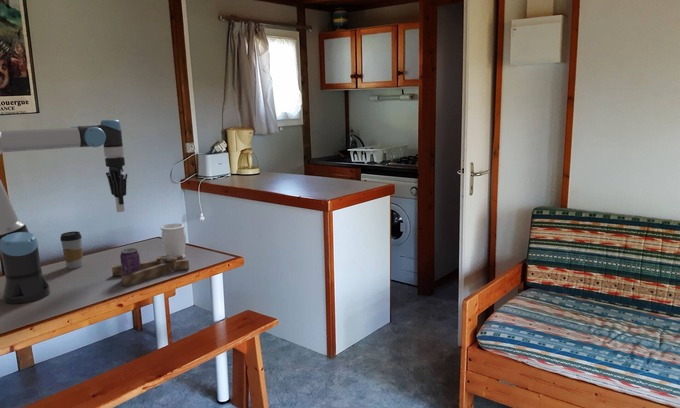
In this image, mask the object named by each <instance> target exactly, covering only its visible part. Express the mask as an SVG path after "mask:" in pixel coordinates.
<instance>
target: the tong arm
mask: <svg viewBox="0 0 680 408" xmlns="http://www.w3.org/2000/svg"><path fill="white" fill-rule="evenodd" d="M155 257H156V259H155V260H149V261H140V266H141V270H143V269H146V268H150V267H153V266H156V265H159V264H162V262H161V261H163V262H165V261H167V262H168V261H173V262H174V268H173V271H175V272H176V271H182V270H188V269H190V261H189V259H188V258H185V259H184V258H183V260H177V257H173V256H169V255H159V256H155ZM111 271H112V277H116V276H117V277H118V276H123V275H122V267H121V264H118V265H111Z"/></svg>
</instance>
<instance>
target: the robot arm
mask: <svg viewBox="0 0 680 408" xmlns="http://www.w3.org/2000/svg"><path fill="white" fill-rule="evenodd" d="M122 132H123V131H122V126H121V121H120V120H118V119H102V120H100V124H97V125H77V126H71V127H64V128H62V127H59V128H58V127H57V128H39V129H37V128H36V129H15V130H11V129H10V130H0V156H1V155H2V154H3V153H15V152H16V153H17V152H26V151H27V152H28V151H42V150H43V151H44V150H58V149H61V150H62V149H73V148H90V147H91V148H99V147H101V146H103V154H104V157H105V158H104V162H105V166H106V167H107V168H108V172H107V171H106V173H105V176H106V178H107V180H108V181H107V182H108V185H109V189H110V192H111V195H112V196H113V197H114V198H115V207H116V212H117V213H123V212H125V211H126V210H125V201H124V197H125V196H127V180H128V173H125V172H124V169H123V167H124V166H125V164H126V162H125V161H126V160H125V157H124V155H125V154H124V153H125V152H124V149H125V148H124V143H123V135H122V134H123V133H122ZM0 257H1V259H2V265H3V270H4V275H5V276H4V277H5V284H4V288H3V292H2V299H3V302H4V303H6V304H11V305H13V304H15V305H16V304H17V305H18V304H26V303H29V302H31V303H32V302H33V301H34V302H35V301H37V300H41V299H44V298H45V297H47V296H48V295H49V294H50V293H51V289H50V284H49V283H48V281H47V280H46V278H45V276H44V274H43V271H42V264H41V259H40V252H39V241H38V239H37V237H36V235H35V234H34V233H32V232H29V229H28V227H27V225H26V223H25V222H24V221H21V220H19V218H18V216H17V214H16V211H15V209H14V207H13V203H11V200H10V197H9V196H8V193H7V191H6V189H5V186H4V184H3V182H2V180H1V179H0Z"/></svg>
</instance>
